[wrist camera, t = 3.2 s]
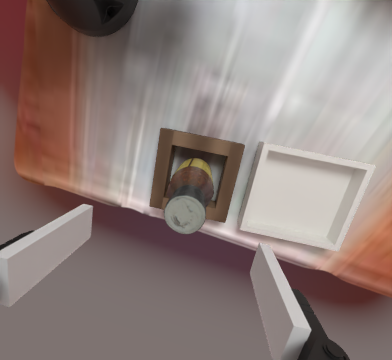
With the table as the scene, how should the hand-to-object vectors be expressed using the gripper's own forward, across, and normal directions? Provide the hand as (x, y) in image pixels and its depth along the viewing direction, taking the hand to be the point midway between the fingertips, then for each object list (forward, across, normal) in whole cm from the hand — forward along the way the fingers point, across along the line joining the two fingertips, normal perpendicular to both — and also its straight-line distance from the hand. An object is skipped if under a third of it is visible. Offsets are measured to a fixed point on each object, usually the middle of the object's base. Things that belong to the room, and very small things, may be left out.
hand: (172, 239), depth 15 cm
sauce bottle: (+24, 0, 0) cm, 24 cm away
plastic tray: (+23, +19, 0) cm, 30 cm away
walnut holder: (+23, 0, 0) cm, 23 cm away
